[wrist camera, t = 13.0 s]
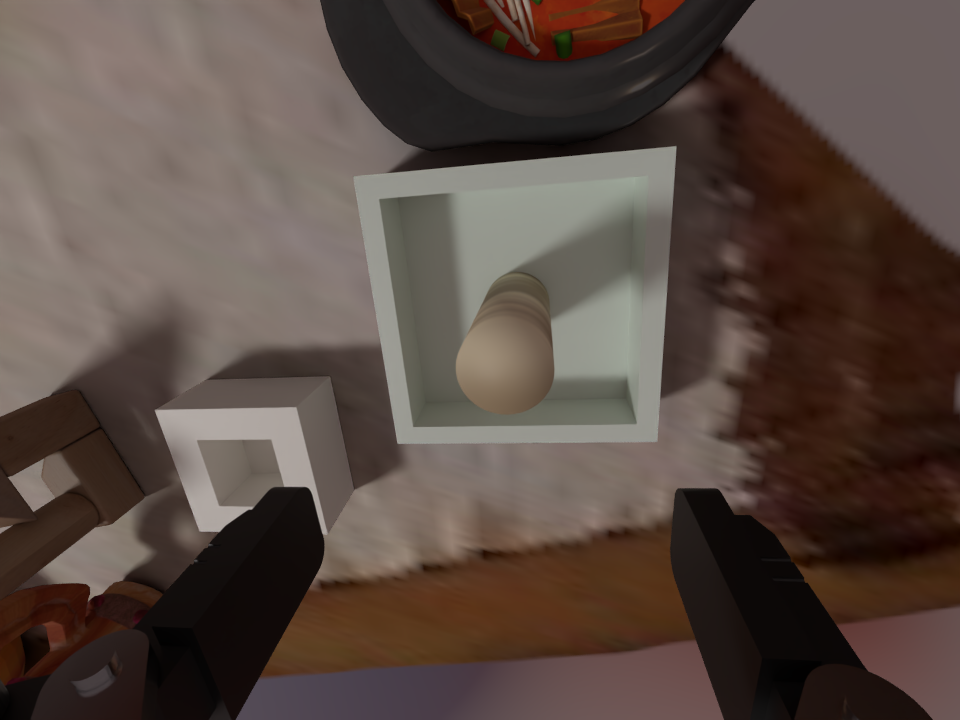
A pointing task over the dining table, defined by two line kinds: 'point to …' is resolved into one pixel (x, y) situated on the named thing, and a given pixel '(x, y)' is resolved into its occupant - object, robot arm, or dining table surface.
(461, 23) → the casserole
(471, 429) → the tray
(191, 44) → the dining table surface
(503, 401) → the dowel
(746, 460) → the dining table surface
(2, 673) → the pumpkin
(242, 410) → the holder
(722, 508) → the robot arm
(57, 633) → the mug
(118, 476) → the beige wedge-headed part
